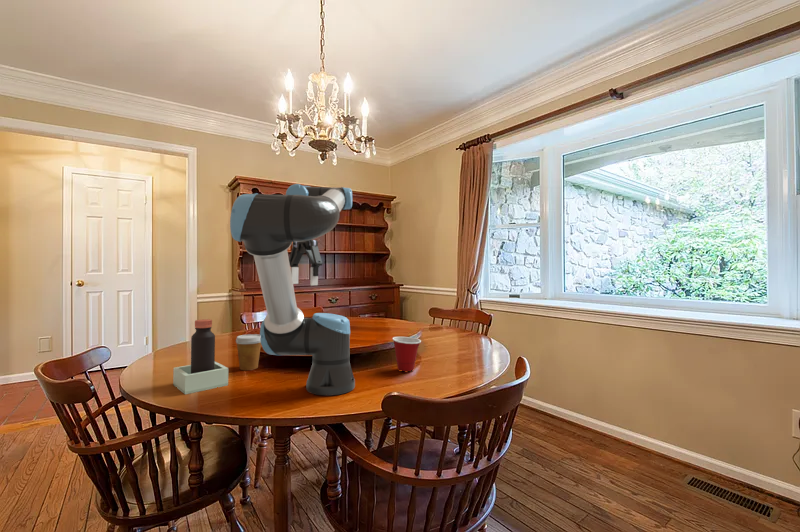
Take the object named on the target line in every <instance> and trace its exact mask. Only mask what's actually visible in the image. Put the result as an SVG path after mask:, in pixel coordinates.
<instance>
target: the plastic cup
mask: <svg viewBox="0 0 800 532" xmlns="http://www.w3.org/2000/svg"><path fill="white" fill-rule="evenodd" d="M392 341H393V344H394V345H393V346H394V347H393V348H394V351H395V352H394V353H395V360H396V362H397V363H396V366H397V370H398V369H399V370H402V371H411V370H413V369H415V363H416V360H417V356H418V349H419V346H420V344H421V342H422V340H421V339H419V338H415V337H410V336H393V337H392ZM413 371H414V370H413Z"/></svg>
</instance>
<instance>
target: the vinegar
mask: <svg viewBox="0 0 800 532" xmlns="http://www.w3.org/2000/svg"><path fill="white" fill-rule="evenodd" d="M212 328H213V320H212V319H210V318H207V319H195V321H194V330H195V332H194V333H193V334H192V335H191V340H190V343H191V344H190V347H191V348H190V365H191V374H193V373H199V372H204V371H210V370H214V369H215V362H216V361H215V360H216V359H215V355H216V351H215V350H216V334H214V332H212V330H211V329H212Z"/></svg>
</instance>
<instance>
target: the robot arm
mask: <svg viewBox="0 0 800 532" xmlns="http://www.w3.org/2000/svg"><path fill="white" fill-rule="evenodd" d="M285 191H286V192H285V194H272V193H271V194H269V193H268V194H267V193H265V194H264V193H257V192H255V193H245V194H244V193H243V194H241V195H238V196H237V198H236V199H235V200H234V202H233V204H232V207H231V212H230V220H229V225H230V226H229V227H230V228H229V229H230V234H231V237H232V239H233V240H234V241H237V242H239V243H241V242H243V244H244V245H243V246H244V248H245V250H246V251H245V252H247V253H248V254H249V255H251V256H253V259H254V262H255V263H254V264H255V268H256V271H257V275H258V279H259V284H260V288H261V292H262V296H263V300H264V305H265V309H266V313H267V314H266V316H265V318H264V319H263V321H262V322H261V325H260V329H259V335H260V336H261V338H260V341H261V348H262V350H263V352H265V353H266V354H267V355H273V356H280V357H281V356H312V362H311V363H312V365H311V367H310V371H309V373H308V376H307V377H308V378H307V380H306V384H305V385H306V388H305V389H306V391H307V392H308V393H310V394H313V395H318V396H337V395H343V394H346V393H349V392H351V391H354V389H355V387H356V379H355V377H354V373H353V369H352V366H351V363H350V360H351V359H350V353H351V352H350V351H351V350H350V349H351V348H350V344H351V343H350V340H351V339H350V337H351V325H350V324H351V323H350V319H349V318H348V317H346V316H344V315H339V314H334V313H328V312H327V313H326V312H316V313H313V315H312V317H305V316H304V313H303V311H302V310H301V309H300V308H299V307H298V306H297V305H298V304H297V299H296V294H295V286H294V285H299V271H300V270H299V263H300V261H301V259H302V257H303V255H304V254H306V256H307V258H308V260H309V263H310V274H309V275H310V279H309V280H310V284H309V285H310V286H319V268H320V267H321V266H323V260H322V258H321V257H322V256H321V254H320V253H321V252H320V249H319V245H318V243H319V242H318V240H315V239H318V238H320V237H322V236H325V235H326V234H327V233H330V232H331V231H332V230H333V229H334V228H336V226H337V224H338V222H339V220H340V215H341V214H340V213H341V211H343V210H351V209H352V207H353V190H352V188H351V187H344V186H343V187H342V186H341V187H336V186H335V187H330V186H329V187H327V186H325V187H322V186H310V185H302V184H299V183H294V184H292V185H290V186H289V187H288V188H287V189H286V190H285ZM290 247H291V249H290ZM289 249H290V253H289V252H288V250H289Z"/></svg>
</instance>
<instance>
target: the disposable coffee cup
mask: <svg viewBox="0 0 800 532" xmlns="http://www.w3.org/2000/svg"><path fill="white" fill-rule="evenodd" d="M260 338H261V336H260V334H257V333H254V334H251V333H248V334H242V335H238V336H236V339H235V343H236V348H237V357H238V364H239V365H238V366H239V370H241V371H253V370H256V369H258V368H259V362H260V361H259V360H260V353H261V348H262V345H261V341H260Z"/></svg>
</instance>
